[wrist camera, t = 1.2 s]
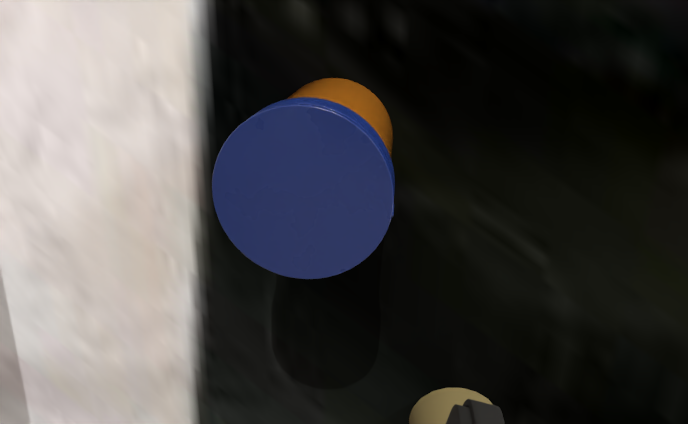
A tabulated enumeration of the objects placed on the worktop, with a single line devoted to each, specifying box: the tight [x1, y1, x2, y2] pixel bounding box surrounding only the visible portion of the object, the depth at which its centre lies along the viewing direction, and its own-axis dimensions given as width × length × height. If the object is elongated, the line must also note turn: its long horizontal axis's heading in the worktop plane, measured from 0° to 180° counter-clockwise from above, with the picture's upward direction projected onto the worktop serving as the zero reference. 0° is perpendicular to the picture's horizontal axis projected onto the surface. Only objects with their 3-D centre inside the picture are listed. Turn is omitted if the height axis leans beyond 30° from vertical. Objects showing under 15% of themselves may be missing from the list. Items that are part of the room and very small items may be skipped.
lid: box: [212, 97, 395, 279], centre depth 21 cm, size 7×7×2 cm
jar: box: [287, 78, 393, 158], centre depth 25 cm, size 6×6×10 cm
